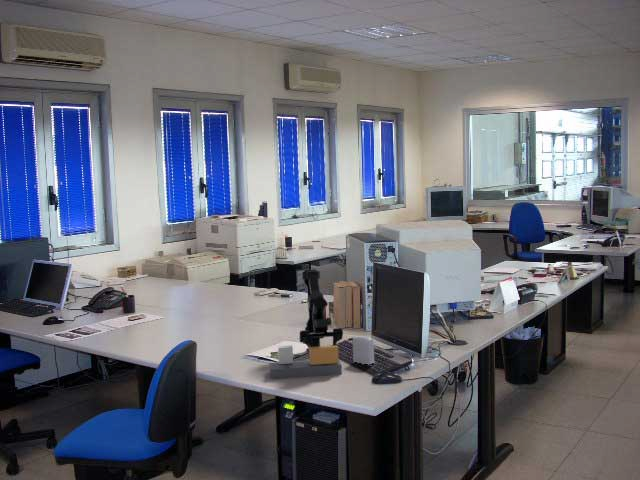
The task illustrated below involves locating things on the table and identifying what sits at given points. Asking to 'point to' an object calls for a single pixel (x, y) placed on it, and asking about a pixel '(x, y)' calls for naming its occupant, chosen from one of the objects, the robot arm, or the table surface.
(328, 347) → the orange slider
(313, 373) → the switch box
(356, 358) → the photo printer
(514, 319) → the table surface
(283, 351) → the white slider
